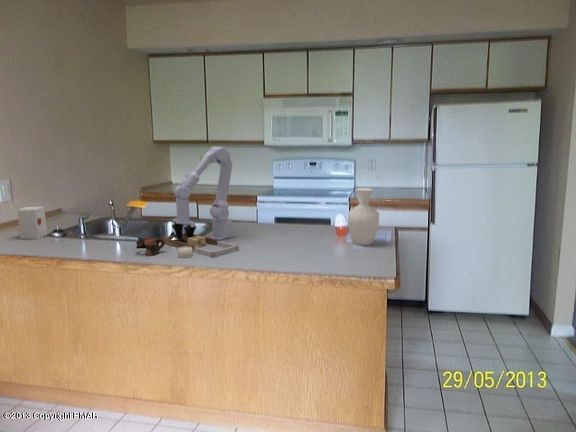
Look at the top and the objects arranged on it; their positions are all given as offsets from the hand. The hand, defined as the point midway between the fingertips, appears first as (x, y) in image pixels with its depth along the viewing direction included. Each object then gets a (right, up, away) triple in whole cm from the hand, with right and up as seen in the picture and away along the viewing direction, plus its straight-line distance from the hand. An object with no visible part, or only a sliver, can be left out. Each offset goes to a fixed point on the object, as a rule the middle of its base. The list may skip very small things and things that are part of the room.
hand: (184, 239), depth 214 cm
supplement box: (-79, 0, +15) cm, 80 cm away
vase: (+83, -1, -4) cm, 83 cm away
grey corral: (+17, -4, -14) cm, 23 cm away
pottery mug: (-11, -5, -16) cm, 20 cm away
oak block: (+7, -3, -5) cm, 9 cm away
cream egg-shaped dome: (+5, -6, -21) cm, 22 cm away
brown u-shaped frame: (+3, -2, -2) cm, 4 cm away
